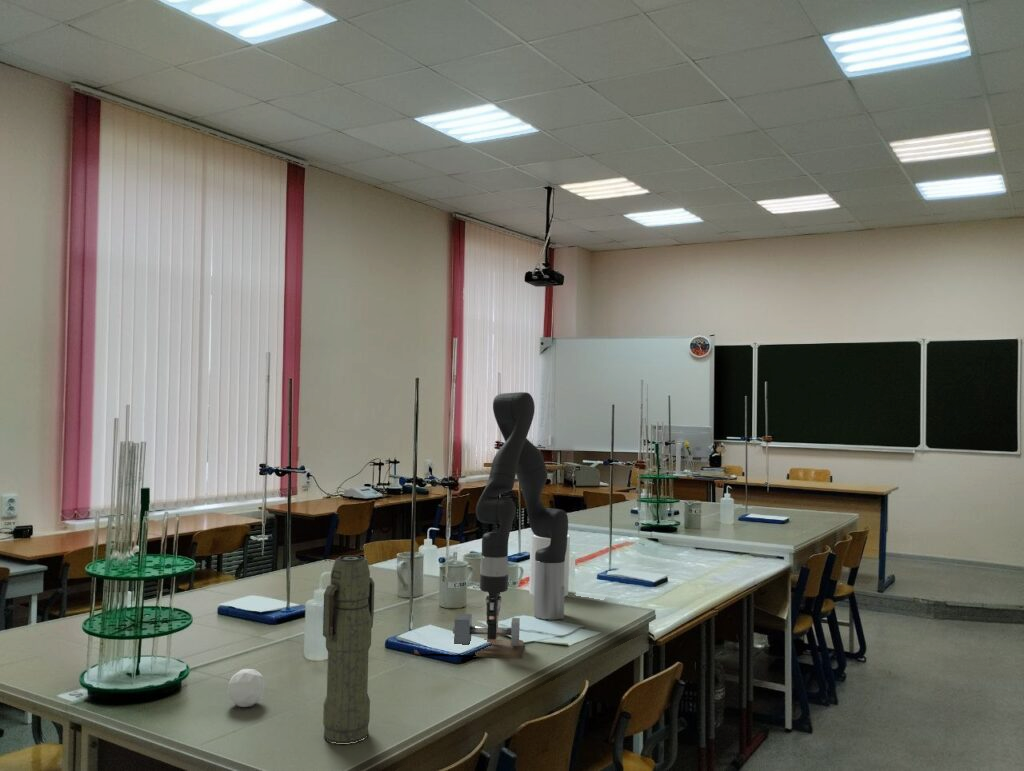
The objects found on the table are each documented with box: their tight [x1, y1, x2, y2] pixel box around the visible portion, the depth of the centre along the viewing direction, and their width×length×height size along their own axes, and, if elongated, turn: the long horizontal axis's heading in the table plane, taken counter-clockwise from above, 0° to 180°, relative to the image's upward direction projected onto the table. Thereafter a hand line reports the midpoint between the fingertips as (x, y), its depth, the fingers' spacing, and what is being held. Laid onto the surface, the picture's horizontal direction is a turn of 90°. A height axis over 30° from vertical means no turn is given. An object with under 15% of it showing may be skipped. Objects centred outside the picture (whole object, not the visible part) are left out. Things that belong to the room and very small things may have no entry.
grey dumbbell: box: [452, 617, 521, 646], centre depth 214 cm, size 18×5×6 cm, turn 87°
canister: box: [528, 532, 570, 597], centre depth 279 cm, size 14×14×20 cm
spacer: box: [486, 616, 499, 643], centre depth 214 cm, size 2×6×6 cm, turn 177°
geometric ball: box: [227, 668, 266, 708], centre depth 173 cm, size 8×8×8 cm
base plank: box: [413, 638, 524, 659], centre depth 214 cm, size 28×12×1 cm, turn 87°
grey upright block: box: [453, 613, 473, 645], centre depth 215 cm, size 4×6×8 cm, turn 177°
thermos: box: [322, 554, 375, 743], centre depth 159 cm, size 9×12×35 cm
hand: (492, 635), depth 214 cm, fingers closed on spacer, 6 cm apart
